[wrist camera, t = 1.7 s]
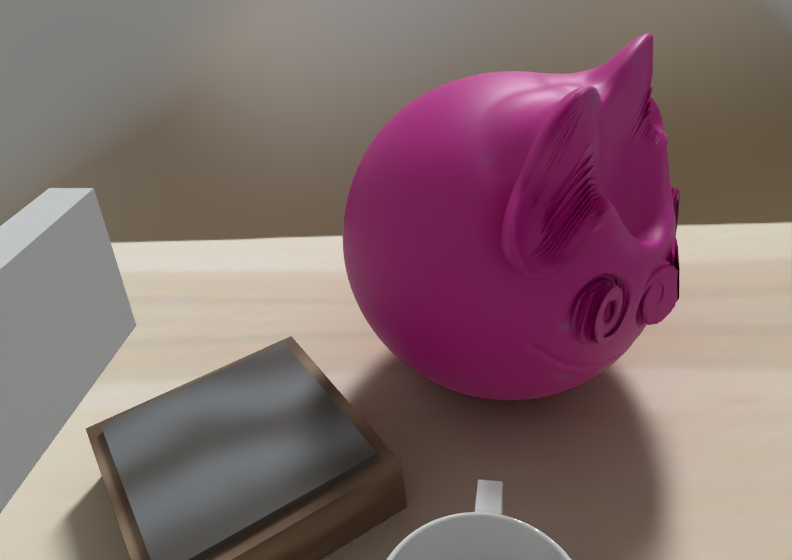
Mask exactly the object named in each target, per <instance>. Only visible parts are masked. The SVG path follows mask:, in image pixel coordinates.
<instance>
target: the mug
mask: <svg viewBox="0 0 792 560" xmlns="http://www.w3.org/2000/svg"><path fill="white" fill-rule="evenodd" d="M386 560H571V558H570V557H569V556H568V555H567V554H566V552H565V551H564V550H563V549H562V548H561V547H560V546H559V545H558V544H557V543H556V542H554V541H553V540H552V539H551V538H550V537H548V536H547V535H546V534H544V533H543V532H541V531H540V530H538V529H536V528H535V527H533V526H531V525H529V524H527V523H525V522H523V521H520V520H518V519H515V518H512V517H508V516H505V515H503V482H502V481H492V480H478V485H477V494H476V503H475V512H466V513H458V514H453V515H448V516H445V517H442V518H439V519H436V520H434V521H431V522H429V523H427V524H425V525H423V526H421V527H420V528H418V529H417V530H415V531H413V532H412V533H411V534H410V535H408V536H407V537H406V538H405V539H404V540H402V541H401V542H400V543H399V544H398V545H397V547H396V548H395V549H394V550H393V551H392V553H391V554H390V555H389V557H388V558H387V559H386Z"/></svg>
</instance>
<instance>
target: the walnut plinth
mask: <svg viewBox="0 0 792 560" xmlns="http://www.w3.org/2000/svg"><path fill="white" fill-rule="evenodd" d="M86 431H87V434H88V437H89V440H90V443H91V446H92V448H93V451H94V454H95V457H96V460H97V463H98V466H99V469H100V472H101V475H102V478H103V481H104V483H105V486H106V489H107V492H108V495H109V498H110V501H111V504H112V507H113V510H114V513H115V516H116V518H117V521H118V524H119V527H120V530H121V533H122V536H123V539H124V542H125V545H126V548H127V551H128V553H129V556H130V559H131V560H320V559H322V558H324V557H325V556H327V555H329V554H330V553H332V552H333V551H335V550H337V549H338V548H340V547H342V546H343V545H345V544H346V543H348V542H350V541H351V540H353V539H355V538H356V537H358V536H360V535H361V534H363V533H364V532H366V531H368V530H369V529H371V528H373V527H374V526H376V525H378V524H379V523H381V522H382V521H384V520H386V519H387V518H389V517H391V516H392V515H394V514H396V513H397V512H399V511H400V510H402V509H404V508H405V507H406V499H405V492H404V485H403V477H402V470H401V463H400V461H399V460H398V459H397V458H396V456H395V455H394V454H393V453H392V452H391V451H390V450H389V448H388V447H387V446H386V445H385V444H384V443H383V441H382V440H381V439H380V438H379V437H378V436H377V435H376V433H375V432H374V431H373V430H372V429H371V428H370V426H369V425H368V424H367V423H366V422H365V421H364V420H363V418H362V417H361V416H360V415H359V414H358V413H357V411H356V410H355V409H354V408H353V407H352V406H351V405H350V403H349V402H348V401H347V400H346V399H345V398H344V397H343V395H342V394H341V393H340V392H339V391H338V390H337V388H336V387H335V386H334V385H333V384H332V383H331V382H330V380H329V379H328V378H327V377H326V376H325V375H324V373H323V372H322V371H321V370H320V369H319V368H318V367H317V365H316V364H315V363H314V362H313V361H312V360H311V358H310V357H309V356H308V355H307V354H306V353H305V352H304V350H303V349H302V348H301V347H300V346H299V345H298V343H297V342H296V341H295V340H294V339H293V338H292V337H288V338H286V339H284V340H282V341H279V342H277V343H275V344H273V345H271V346H268V347H266V348H264V349H262V350H259V351H257V352H255V353H253V354H251V355H248V356H246V357H244V358H242V359H239V360H237V361H235V362H233V363H231V364H228V365H226V366H224V367H222V368H219V369H217V370H215V371H213V372H211V373H208V374H206V375H204V376H202V377H199V378H197V379H195V380H193V381H191V382H188V383H186V384H184V385H182V386H180V387H177V388H175V389H173V390H171V391H168V392H166V393H164V394H162V395H160V396H157V397H155V398H153V399H151V400H148V401H146V402H144V403H142V404H140V405H137V406H135V407H133V408H131V409H128V410H126V411H124V412H122V413H120V414H117V415H115V416H113V417H111V418H108V419H106V420H104V421H102V422H100V423H97V424H95V425H93V426H91V427H88V428H86Z"/></svg>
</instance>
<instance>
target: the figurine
mask: <svg viewBox="0 0 792 560" xmlns="http://www.w3.org/2000/svg"><path fill="white" fill-rule="evenodd" d="M652 72H653V35H652V34H650V33H646V34H644V35H642V36H640V37H638V38H636V39H634V40H633V41H631V42H630V43H629V44H628V45H626V46H625V47H624V48H623V49H621V50H620V51H619V52H618V53H617V54H615V55H614V56H613V57H612V58H611V59H609V60H608V61H607V62H605V63H604V64H602V65H601V66H599V67H597V68H595V69H591V70H587V71H581V72H577V73H570V74H550V73H536V72H525V71H505V72H492V73H485V74H479V75H474V76H469V77H465V78H462V79H458V80H455V81H452V82H449V83H447V84H444V85H441V86H439V87H437V88H435V89H433V90H431V91H429V92H427V93H425V94H423V95H422V96H420V97H418V98H416V99H415V100H413V101H412V102H410V103H409V104H408V105H406V106H405V107H404V108H403V109H401V110H400V111H399V112H398V113H397V114H396V115H395V116H393V118H392V119H390V120H389V122H388V123H387V124H386V125H385V126H384V127H383V128H382V129H381V131H380V132H379V133H378V134H377V136H376V137H375V138H374V140H373V141H372V143H371V145H370V146H369V147H368V149H367V151H366V152H365V154H364V156H363V158H362V160H361V162H360V164H359V166H358V168H357V171H356V174H355V176H354V178H353V181H352V184H351V188H350V191H349V194H348V198H347V203H346V209H345V215H344V225H343V251H344V260H345V266H346V271H347V275H348V279H349V282H350V286H351V289H352V291H353V294H354V296H355V299H356V301H357V303H358V305H359V307H360V309H361V311H362V313H363V315H364V317H365V318H366V320H367V322H368V323H369V325H370V326H371V328H372V329H373V331H374V332H375V333H376V335H377V336H378V337H379V338H380V340H381V341H382V342H383V343H384V344H385V345H386V346H387V347H388V349H389V350H390V351H391V352H392V353H393V354H395V355H396V356H397V357H398V358H399V359H400V360H401V361H402V362H404V363H405V364H406V365H407V366H409V367H410V368H411V369H413V370H414V371H416V372H417V373H419V374H420V375H422V376H424V377H425V378H427V379H429V380H430V381H432V382H434V383H436V384H438V385H441V386H443V387H445V388H448V389H450V390H453V391H456V392H459V393H462V394H466V395H470V396H474V397H480V398H486V399H495V400H526V399H534V398H541V397H546V396H550V395H554V394H557V393H561V392H564V391H566V390H569V389H572V388H574V387H576V386H578V385H581V384H583V383H585V382H586V381H588V380H590V379H592V378H593V377H595V376H597V375H598V374H600V373H601V372H603V371H604V370H605V369H607V368H608V367H609V366H610V365H612V364H613V363H614V362H615V361H616V360H618V359H619V358H620V357H621V356H622V355H623V354H624V353H625V352H626V351H627V350H628V348H629V347H630V346H631V345H632V343H633V342H634V341H635V340H636V338H637V337H638V336H639V335H640V334H641V332H642V331H643V329H644V328H645V326H646V325H647V324H648V325H650V324H657V323H659V322H660V321H662V320H663V319H664V318H665V317H666V316H667V315H668V314H669V313H670V312H671V310H672V309H673V308H674V306H675V303H676V301H678V299H679V258H678V246H677V240H676V238H675V236H676V230H677V223H678V216H679V199H680V191H679V190H678V189H677V188H675V189H674V188H673V187H672V188H671V184H670V177H669V165H668V154H667V142H668V136H667V135H666V134H665V133H664V127H663V122H662V117H661V114H660V111H659V109H658V107H657V105H656V103H655V101H654V100H653V99H652V98H651V96H650V95H651V91H652V87H650V84H651V79H652Z"/></svg>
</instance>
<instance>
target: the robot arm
mask: <svg viewBox="0 0 792 560" xmlns="http://www.w3.org/2000/svg"><path fill="white" fill-rule="evenodd" d="M135 326H136V323H135V320H134V317H133V313H132V310H131V307H130V304H129V301H128V297H127V294H126V291H125V288H124V285H123V281H122V278H121V275H120V272H119V269H118V265H117V262H116V259H115V256H114V252H113V249H112V246H111V243H110V240H109V237H108V233H107V230H106V227H105V224H104V221H103V217H102V214H101V211H100V208H99V204H98V201H97V198H96V195H95V192H94V188H49V189H48V190H46V191H45V192H44V193H43V194H41V195H40V196H39V197H38V198H36V199H35V200H34V201H32V202H31V203H30V204H28V205H27V206H26V207H25V208H23V209H22V210H21V211H20V212H18V213H17V214H16V215H14V216H13V217H12V218H11V219H9V220H8V221H7V222H5V223H4V224H3V225H2V226H0V513H1V512H2V510H3V509H4V507H5V506H6V505H7V503H8V502H9V500H10V499H11V498H12V496H13V495H14V494H15V492H16V491H17V489H18V488H19V487H20V485H21V484H22V482H23V481H24V480H25V478H26V477H27V476H28V474H29V473H30V471H31V470H32V469H33V467H34V466H35V465H36V463H37V462H38V460H39V459H40V458H41V456H42V455H43V453H44V452H45V451H46V449H47V448H48V447H49V445H50V444H51V442H52V441H53V440H54V438H55V437H56V435H57V434H58V433H59V431H60V430H61V429H62V427H63V426H64V424H65V423H66V422H67V420H68V419H69V418H70V416H71V415H72V413H73V412H74V411H75V409H76V408H77V406H78V405H79V404H80V402H81V401H82V400H83V398H84V397H85V395H86V394H87V393H88V391H89V390H90V388H91V387H92V386H93V384H94V383H95V382H96V380H97V379H98V377H99V376H100V375H101V373H102V372H103V371H104V369H105V368H106V366H107V365H108V364H109V362H110V361H111V359H112V358H113V357H114V355H115V354H116V353H117V351H118V350H119V348H120V347H121V346H122V344H123V343H124V341H125V340H126V339H127V337H128V336H129V335H130V333H131V332H132V330H133V329H134V328H135Z"/></svg>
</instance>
